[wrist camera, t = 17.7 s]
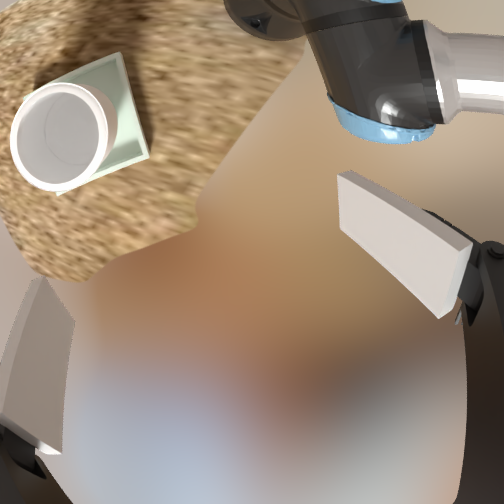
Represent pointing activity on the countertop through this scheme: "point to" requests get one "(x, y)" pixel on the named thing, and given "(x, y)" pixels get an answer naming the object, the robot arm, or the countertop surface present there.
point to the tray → (120, 94)
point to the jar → (62, 135)
